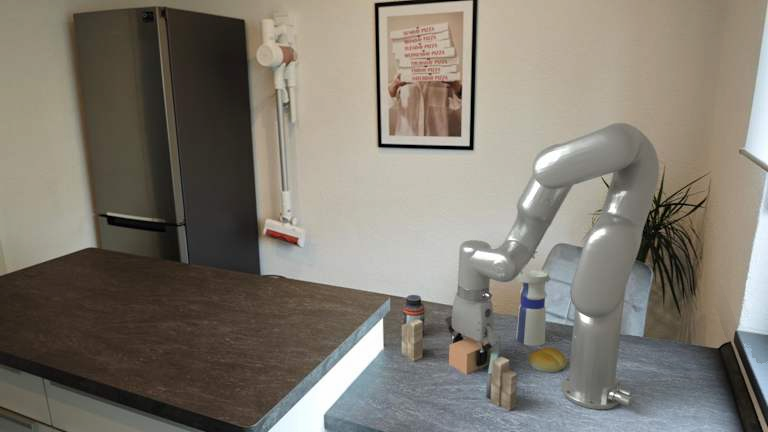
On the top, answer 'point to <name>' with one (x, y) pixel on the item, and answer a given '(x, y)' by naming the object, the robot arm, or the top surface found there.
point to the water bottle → (532, 307)
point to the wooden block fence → (501, 375)
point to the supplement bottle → (413, 310)
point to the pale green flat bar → (494, 356)
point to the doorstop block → (465, 355)
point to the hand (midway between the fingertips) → (469, 358)
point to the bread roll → (547, 360)
